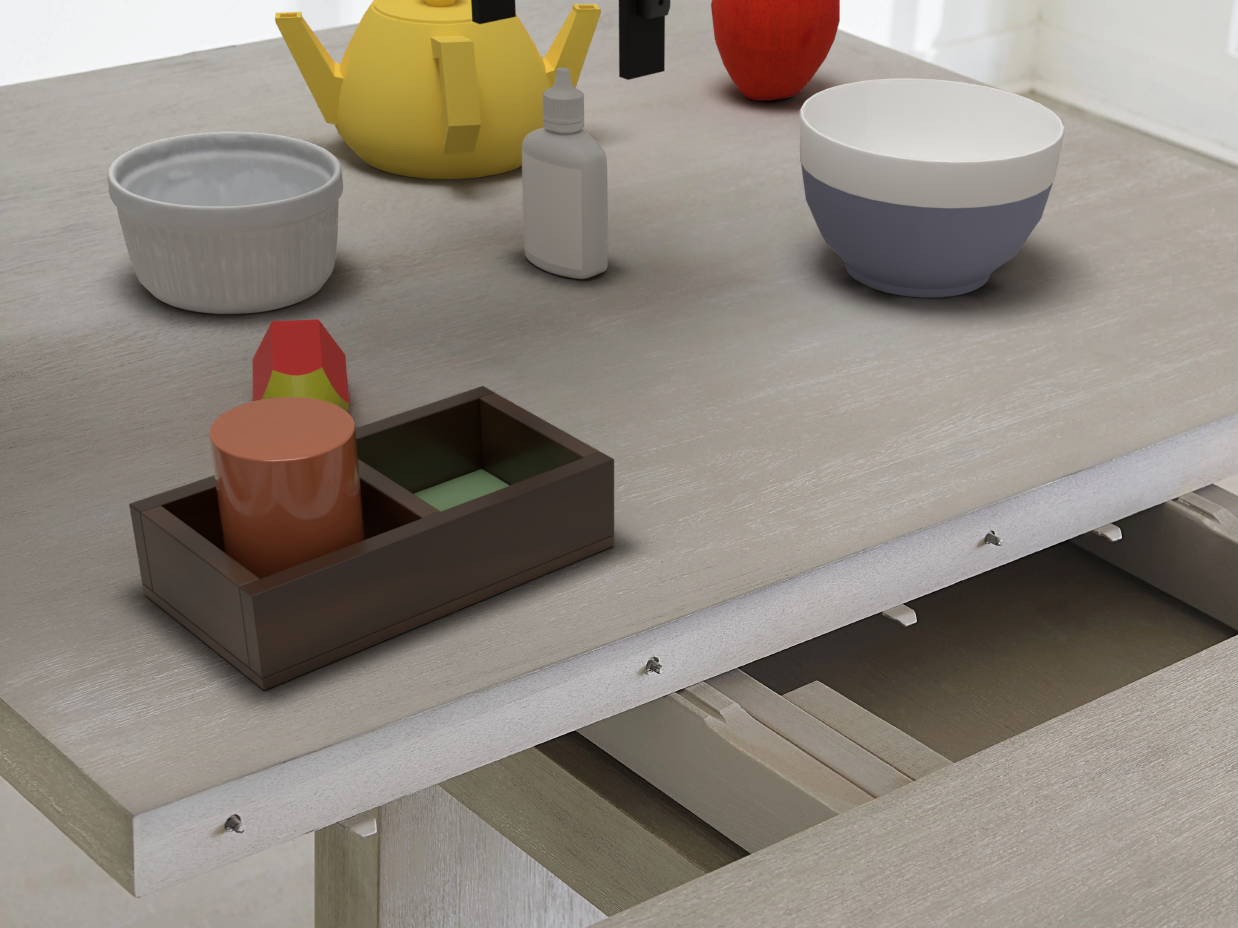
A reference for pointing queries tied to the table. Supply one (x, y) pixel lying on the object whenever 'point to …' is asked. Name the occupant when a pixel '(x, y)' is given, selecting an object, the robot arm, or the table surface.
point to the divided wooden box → (389, 537)
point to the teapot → (437, 84)
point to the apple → (774, 43)
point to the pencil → (300, 364)
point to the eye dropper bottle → (565, 188)
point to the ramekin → (229, 219)
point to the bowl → (926, 179)
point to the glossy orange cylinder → (286, 482)
